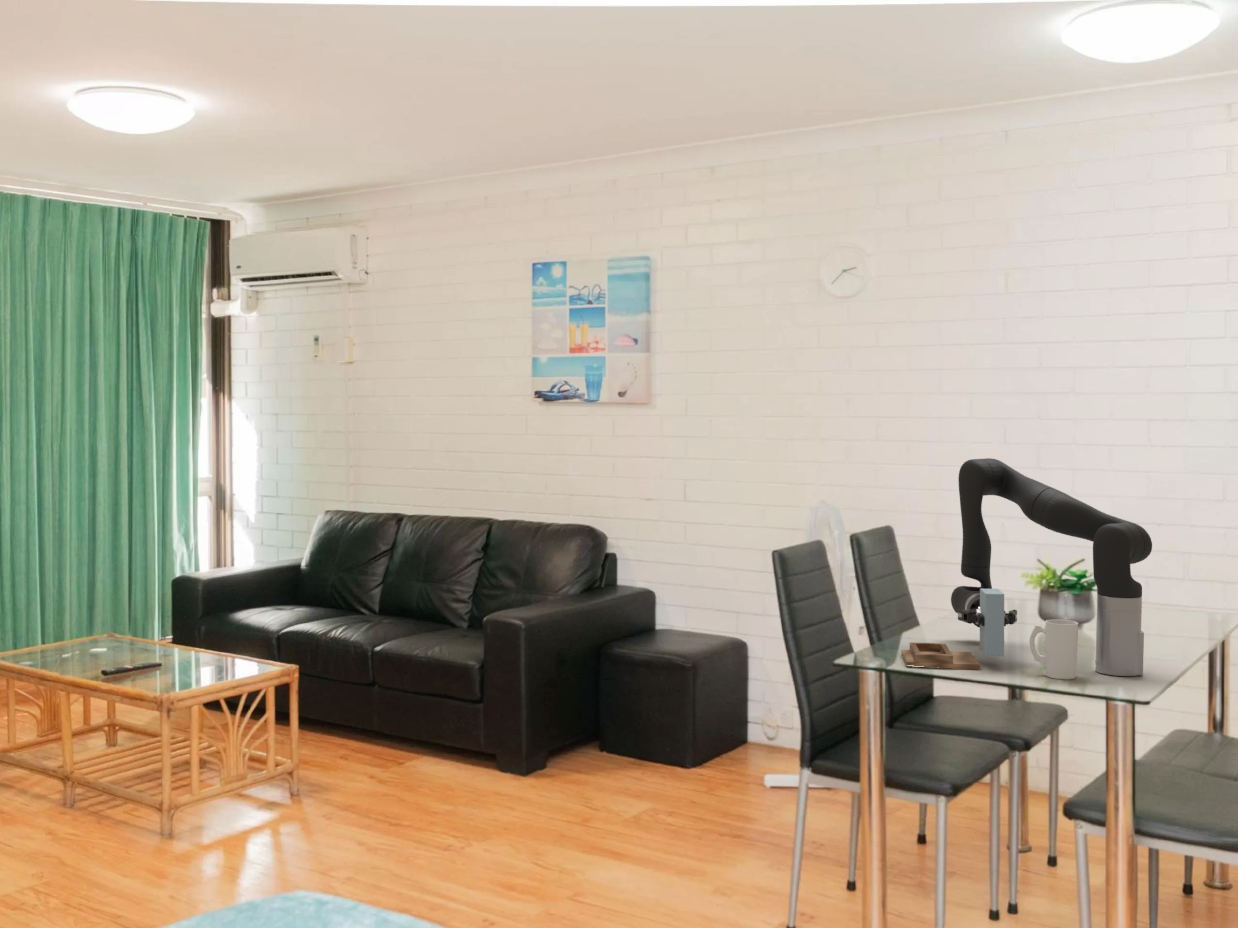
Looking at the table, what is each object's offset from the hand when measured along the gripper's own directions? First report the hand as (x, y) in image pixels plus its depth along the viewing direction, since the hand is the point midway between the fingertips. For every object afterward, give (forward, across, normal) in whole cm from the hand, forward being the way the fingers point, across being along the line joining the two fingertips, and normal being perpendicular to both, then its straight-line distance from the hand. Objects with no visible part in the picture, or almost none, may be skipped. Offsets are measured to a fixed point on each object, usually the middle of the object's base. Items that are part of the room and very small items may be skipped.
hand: (993, 621), depth 275 cm
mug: (+6, +12, +11) cm, 17 cm away
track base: (-5, -11, +10) cm, 16 cm away
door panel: (-3, 0, +8) cm, 8 cm away
